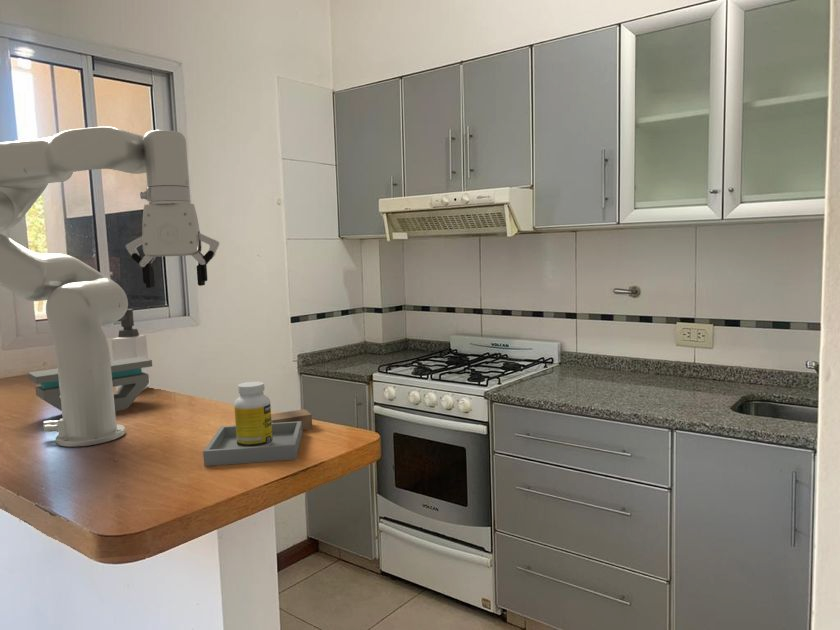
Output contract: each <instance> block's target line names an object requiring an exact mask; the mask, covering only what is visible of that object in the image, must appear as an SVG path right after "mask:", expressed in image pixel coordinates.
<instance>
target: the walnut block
mask: <svg viewBox="0 0 840 630" xmlns="http://www.w3.org/2000/svg"><path fill="white" fill-rule="evenodd" d="M312 415H313V414H312V413H310V412H309V411H308V410H306V409H305V408H303V409H295V410H291V411H284V412H277V413H271V423H280V422H296V421H302V431H307V430H312V429H313V417H312Z"/></svg>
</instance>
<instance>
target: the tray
mask: <svg viewBox="0 0 840 630" xmlns="http://www.w3.org/2000/svg"><path fill="white" fill-rule="evenodd" d="M302 437H303V430H302V421H296V422H280V423H272V439H273V440H272V443H271V444H270V445H269V446H255V447H240V448H239V447H238V446H237V436H236V424H235V425H223V426H222V425H221V426H220V427H219V429H218V430H217V431H216V433H215V434H214V436H213V437H212V438H211V440H210V441H209V443H208V444H207V445H206V446H205V449H203V451H202V454H203V466H204V467H209V466H210V467H211V466H225V465H237V464H251V463H253V464H254V463H263V462H264V463H265V462H266V463H267V462H280V461H292V460H295V461H296V460H297V456H298V452H299V448H300V445H301V441H302Z"/></svg>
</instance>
